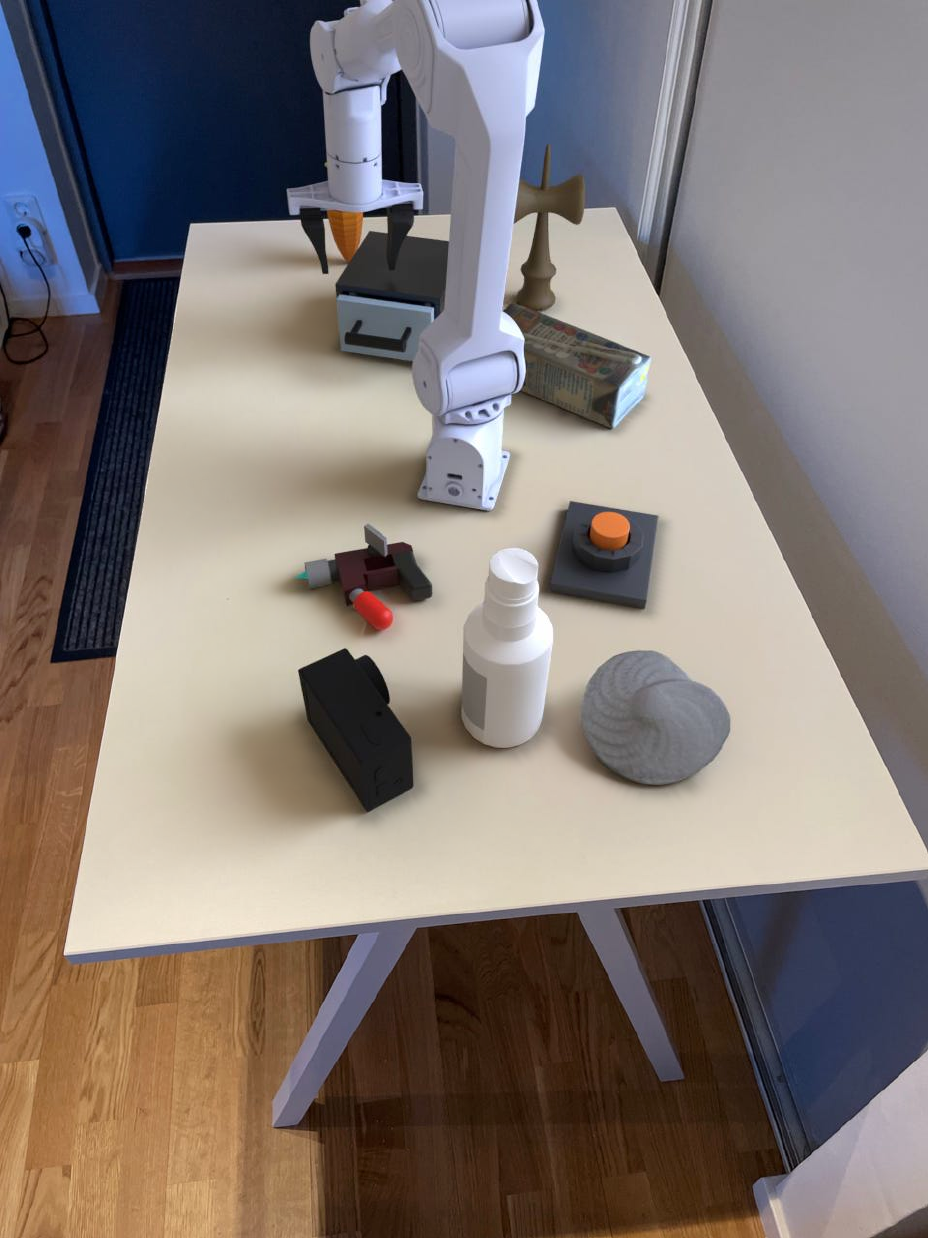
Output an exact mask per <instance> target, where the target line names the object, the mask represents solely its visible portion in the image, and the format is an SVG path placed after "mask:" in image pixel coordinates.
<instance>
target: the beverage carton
mask: <svg viewBox="0 0 928 1238" xmlns="http://www.w3.org/2000/svg"><path fill="white" fill-rule="evenodd" d="M502 311H503V312H505V313H506V314H507V315H509V316H510V317H511V318H512V319H513V320H514V321H515V323H516V324H517V326H518V327H519V329H520V331H521V333H522V335H523V337H524V359H525V367H526V373H525V379H524V382H523V385H522V388H521V389H520V391H521V392H524V393H526V394H528V395H531V396H533V397H535V398H538V399H540V400H542V401H545V402H546V403H549V404H552V405H554V406H557V407H559V408H561V409H563V410H566V411H568V412H570V413H573V414H575V415H577V416H580V417H582V418H585V419H587V420H590V421H593V422H595V423H597V424H599V425H603V426H605V427H607V428H609V429H611V430H613V429H615V428H616V426H618V425H619V423H620V422H621V421H622V420H623V419H624V418H625V417H626V416H627V415H628V414H629V413H630V412H631V411H632V410H633V409H634V408H635V406H637V404H639V403H640V402H641V400H642V399H643V398H644V396H645V392H646V388H647V384H648V374H649V370H650V366H651V363H652V358H651V357H652V356H649V355H647V354H645V353H642V352H640V351H638V350H635V349H632V348H630V347H627V346H624V345H622V344H620V343H619V342H616V341H613V340H610V339H608V338H606V337H603V336H601V335H597V334H595V333H593V332H590V331H588V330H585V329H584V328H580V327H578V326H575V325H573V324H570V323H567V322H565V321H562V320H559V319H557V318H555V317H553V316H549V315H547V314H545V313H542V312H539V311H538V310H532V309H529V308H526V307H524V306H521V305H520V304H517V303H515V302H511V303H510V304H508V306H506V307H505V308H504V309H502Z"/></svg>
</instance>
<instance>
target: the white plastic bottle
mask: <svg viewBox="0 0 928 1238" xmlns="http://www.w3.org/2000/svg"><path fill="white" fill-rule="evenodd" d="M538 572H539V562H538V561H537V558H536V557H535V556H534V555H533V554H532V553H531V552H529V551H527V550H525V549H522V548H518V547H507V548H503V549H501V550H497V552H495V553H494V554H493V555H492V556H491V557H490V560H489V562H488V576H487V577H486V580H485V582H484V597H483V598H484V599H483V602H482V603H480V604H478V605H476V607H474V609H472V610H471V611H470V612H469V613H468V614H467V617H466V620H465V622H464V624H463V632H462V633H463V635H462V641H463V642H462V673H461V674H462V675H461V676H462V677H461V678H462V679H461V721H462V723H463V725H464V728H465V729H466V731H467V732H468V733H469V734H470V735H471V736H472V738H474V739H475V740H476V741H478V742H480V743H482V744H483V745H485V746H486V745H487V746H489V747H492V748H501V749H502V748H503V749H504V748H507V749H509V748H513V747H516V746H521V745H522V744H524V743H526V742H527V741H529V740H530V739H532V738H533V737H534V736H535V735H536V733H537V732H538V731H539V729H540V727H541V724H542V721H543V717H544V711H545V703H546V696H547V688H548V681H549V674H550V667H551V659H552V653H553V646H554V626H553V625H552V622H551V621H550V618H549V616H548V615H547V614H546V613H545V612H544V611H543V610H542V609H541V608H540V607H539V604H538V603H539V594H540V584H539V582H538V574H539V573H538Z"/></svg>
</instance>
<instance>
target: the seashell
mask: <svg viewBox="0 0 928 1238" xmlns="http://www.w3.org/2000/svg"><path fill="white" fill-rule="evenodd" d="M580 715H581V725H582V731H583V734H584V738H585V739H586V741H587V743H588V744H589V746H590V747H591V749H592V750H593V753H594V755H595V757H596V759H597V760H598V761H599V762H600V764H602V765H603V766H604V767H606V768H607V769H609V770H610V771H612V772H614V774H617V775H618V776H620V777H622V778H625V779H627V780H629V781H631V782H635V783H637V784H642V785H656V786H663V785H669V784H674V783H677V782H680V781H682V780H685V779H688V778H691V777H692V776H694V775H696V774H698V773H699V772H700V771H702V770H703V769H704V768H706V767H707V766H708V765H709V764H711V763H712V762H713V761H714V760H715V759H716V758H717V756H718V755H719V754H720V752H721V751H722V750H723V747H724V744H725V743H726V741H727V739H728V738H729V735H730V733H731V724H732V723H731V722H732V721H731V714H730V712H729V710H728V708H727V705H726V704H725V702H724V701H723V699H722V698H721V696H719V695H718V694H717V693H716V691H715V690H713V689H712V688H710V687H709V686H707V685H705V684H703V683H701V682H698V681H695V680H692V679H691V678H690V676H688V673H687V672H685V671H684V670H683V669H682V668H681V667H680V666H679V665H677V664H676V663H675V662H674V661H673V660H672V659H670V657H669V656H667V655H665V654H663V653H661V652H659V651H656V650H640V649H638V650H637V649H636V650H631V651H625V652H621V653H618V654H615V655H613V656H612V657H610V658H608V659H607V660H606V661H605V662H604V663H602V664H601V665H600V666H599V667H597V669H596V670H595V672H594V673H593V675H592V676H591V677H590V679H589V680H588V682H587V684H586V686H585V691H584V693H583V697H582V700H581V705H580Z"/></svg>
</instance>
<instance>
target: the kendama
mask: <svg viewBox="0 0 928 1238" xmlns="http://www.w3.org/2000/svg"><path fill="white" fill-rule="evenodd" d="M551 151H552V146H551V144H550V143H547V144H546V146H545V151H544V156H543V157H544V158H543V163H542V165H543V166H542V172H541V173H542V175H541V183H540V186H539V185H534V184H531V183H529V182H527V181H526V180H524V179H523V178H522V177H521V176H520V177H519V184H518V192H517V200H516V207H515V215H514V223H513V225H515V224H517V223H518V222H519V221H521V220H522V219H523V218H525V217H527V216H529V215H531V214H536V221H535V227H534V232H533V238H532V241H531V246H530V250H529V254H528V257H527V259H526V261H525V262H524V263H522V264H521V266H520V272H521V275H522V276H523V284H522V287H521V289H519V290H518V291H517V293H516V301H517V303H518V305H520V306H524V307H526V308H529V309H532V310H535V311H541V310H546V309H549V308H551V307H553V306H554V305H555V303H556V295H555V293H554V291H553V290H552V289H551V283H552V279H553V277H555V275H556V273H557V268H556V265H555V264H554V263H553V262H552V260H551V254H550V239H549V238H550V235H549V233H550V232H549V214H555V215H557V216H560V217H562V218H563V219H565V220H567V222H569V223H572V225H576V226H578V225H580V224H581V223H582V221H583V217H584V212H585V208H586V184H585V182H586V181H585V178H584V176H583V174H580V173H577V174H575V175H574V176H571V177H570V178H569V179H567V180H565V181H563V182H561V183H558V184H556V185H550V183H551V182H550V181H551V180H550V178H551V159H552V152H551Z"/></svg>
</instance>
